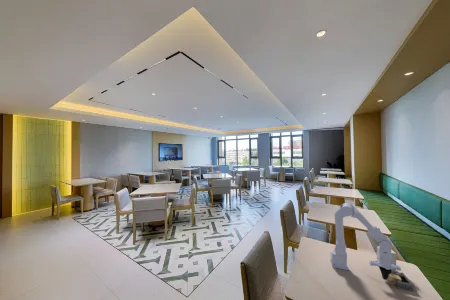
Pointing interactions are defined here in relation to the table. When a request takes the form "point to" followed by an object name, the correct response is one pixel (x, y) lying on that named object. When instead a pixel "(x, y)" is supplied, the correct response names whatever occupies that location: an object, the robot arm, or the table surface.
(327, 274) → the table surface
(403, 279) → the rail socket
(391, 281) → the tan block
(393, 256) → the supplement box
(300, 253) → the table surface
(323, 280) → the table surface
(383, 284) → the table surface
